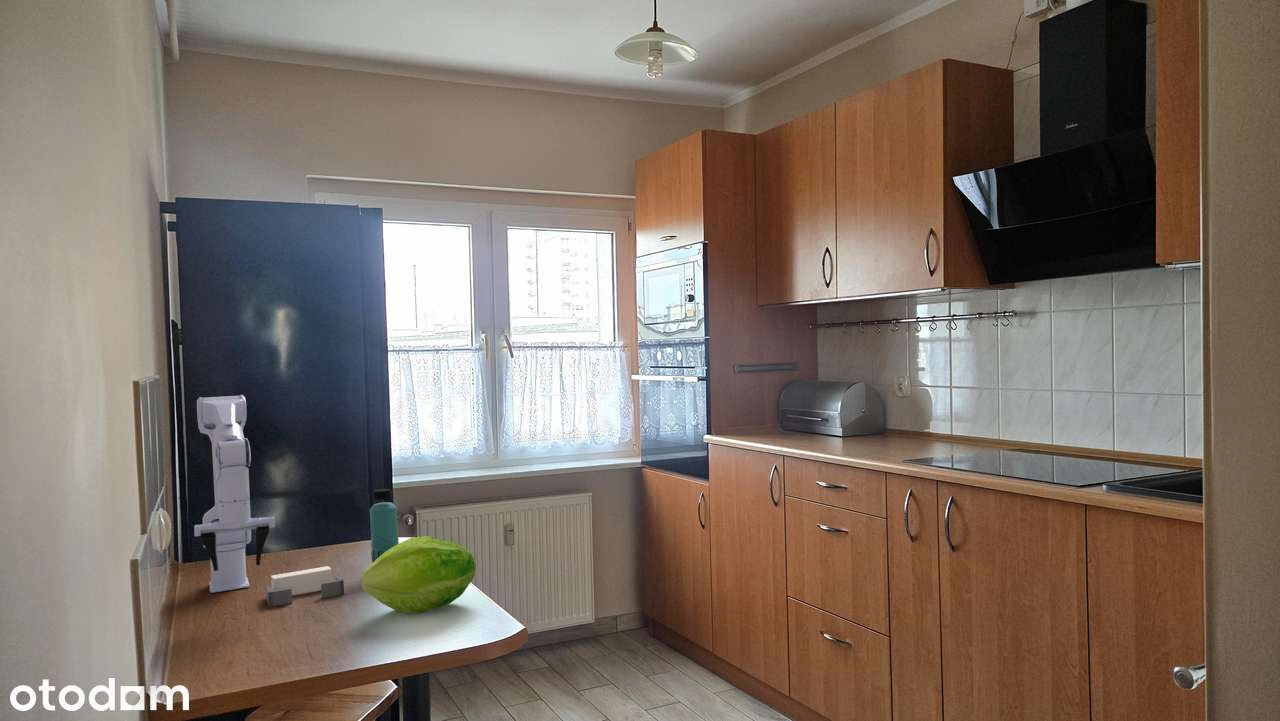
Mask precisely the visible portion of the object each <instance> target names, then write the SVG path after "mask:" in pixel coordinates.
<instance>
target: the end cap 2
mask: <svg viewBox="0 0 1280 721" xmlns="http://www.w3.org/2000/svg"><path fill="white" fill-rule="evenodd" d="M320 591H321V592H320V593H321V599H325V598H329V597H336V596H340V595H343V596H344V595H345V585H344V579H343V578H342V577H341V575H340V574H335V580H332V582H326V583H321V590H320Z"/></svg>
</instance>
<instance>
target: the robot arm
mask: <svg viewBox="0 0 1280 721" xmlns="http://www.w3.org/2000/svg"><path fill="white" fill-rule="evenodd" d="M246 400H247V399H246V397H245V396H244V395H243V394H239V395H231V396H230V395H229V396H228V395H227V396H226V395H225V396H209V397H201V396H199V398H197V400H196V415H197V423H198V426H197V428H198V429H199V433H200V434H204V435H207V436H208V437H209V440H210V442H211V453H212V471H213V490H214V506H213V507H212V508H211V509H209V510H208V511H207V512H205V513H204V514H203V517H202V523H201V524H195V525H194V526H193V528H194V531H193V532H194V537H200V541H201V544H202V545H203V548H204V549H205V550H206V552H207V553H208V555H209V558H210V562H209V564H210V581H209V582H208V584H209V585H208V586H209V593H210V594H212V593H219V592H226V591H233V590H239V589H244V588H249V587H250V582H249V578H248V577H247V566H246V564H247V563H246V561H247V560H246V547H247V545H248V544H250V542H251V541H252V530H255V545H256V553H255V554H256V555H255V558H256V559H255V565H256V566H260V565H261V559H262V558H261V556H262V552H263V549H264V546H265V544H266V541H267V538H268V535H269V533H270V529H273V528H276V525H275V516H265V517H264V516H263V517H251V502H250V501H251V499H250V498H251V496H250V478H249V476H250V474H249V473H250V472H249V468H250V467H251V460H252V454H251V446H250V442H249V440H248V438H245V436H244V431H243V430H244V427H245V425H246V421H247V418H248V417H247V413H248V411H247V401H246ZM247 466H248V467H247Z"/></svg>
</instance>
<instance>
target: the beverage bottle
mask: <svg viewBox="0 0 1280 721" xmlns="http://www.w3.org/2000/svg"><path fill="white" fill-rule="evenodd" d="M392 498H393V496H392V490H391V489H389V488H382V489H376V490H374V491H373V500H374V501H377V500H378V501H380V500H381V501H382V500H383V501H384V500H389V499H392ZM397 509H398V507H397V505H395V504H394V503H393V502H378V503H374V504H373V505H372V506H371V507H370V509H369V517H370V521H369V522H370V523H369V525H370V526H369V528H370V529H369V530H370V540H371V543H370V545H371V550H370V551H371V552H370V553H371V555H370V556H371V562H372V563H373V562H374V561H375V560H376V559H377V558H379V557H380V556H381V555H382V554H384V553H385V552H386V551H387V550H389V549H391V548H392V547H394V546H396V545H397V544H399V543H400V541H399V530H398V529H399V527H398V514H397V513H398V510H397ZM372 563H371V564H372Z"/></svg>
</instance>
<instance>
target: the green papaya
mask: <svg viewBox="0 0 1280 721" xmlns="http://www.w3.org/2000/svg"><path fill="white" fill-rule="evenodd" d="M476 566H477V562H476V560H475V558H474V556H473V554H472V552H471V551H469V550H468V549H466V548H465V547H463V546H462V545H460V544H458V543H457V542H455V541H454V542H453V541H448V540H443V539H437V538H434V537H431V536H429V535H421V536H416V537H411V538H408V539H406V540H404V541H402V542H399V544H397V545H396V546H394V547H392V548H391V549H389V550H387V551H386V552H385V553H384V554H382V555H381V556H380V557H379V558H377V559H376V560H375V561H374V562H373V563H371V564H370V565H369V566H368V567H367V569H365V570H364V572H363V573H362V574H361V576H360V585H361V588H362V589H363V591H365V592H366V593H367V594H368V595H369V596H371V597H372V598H374V599H376V600H377V601H378V602H379V603H381V604H382V605H384V606H386V607H388V608H390V609H392V610H394V611H397V612H400V613H405V614H415V613H416V614H417V613H425V612H428V611H431V610H434V609H438V608H440V607H443V606H446V605H448V604H449V605H450V604H451V603H453V602H454V601H456V600H457V599H459V598H460V597H461V596H462V595H463V594H464V593H465V591H466V590H467V588H468V587H469V585H470V584H471V583H472V581H473V580H474V578H475V573H476V569H477V568H476Z"/></svg>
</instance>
